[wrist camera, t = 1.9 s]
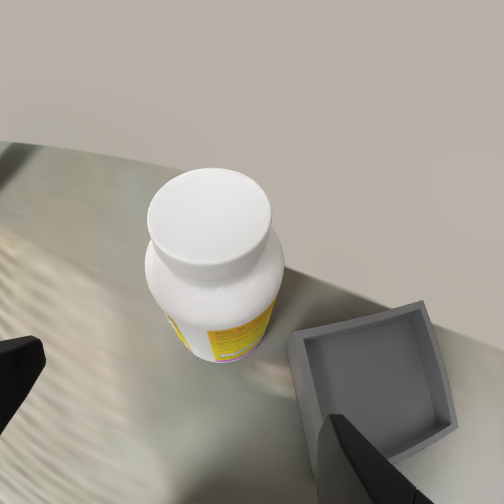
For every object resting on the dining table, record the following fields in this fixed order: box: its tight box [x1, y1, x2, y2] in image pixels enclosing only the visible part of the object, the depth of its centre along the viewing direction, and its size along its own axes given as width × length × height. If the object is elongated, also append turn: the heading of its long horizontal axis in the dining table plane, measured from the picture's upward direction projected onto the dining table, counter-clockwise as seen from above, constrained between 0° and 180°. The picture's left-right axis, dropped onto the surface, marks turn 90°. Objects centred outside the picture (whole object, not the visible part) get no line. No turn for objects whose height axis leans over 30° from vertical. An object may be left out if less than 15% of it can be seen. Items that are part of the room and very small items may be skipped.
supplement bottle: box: [145, 168, 284, 363], centre depth 16 cm, size 7×7×13 cm
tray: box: [285, 300, 458, 483], centre depth 17 cm, size 11×11×3 cm
